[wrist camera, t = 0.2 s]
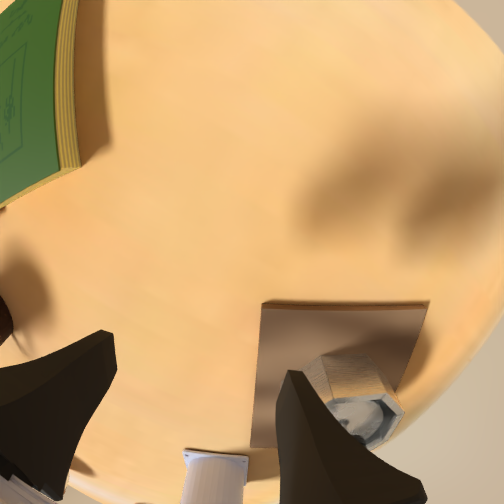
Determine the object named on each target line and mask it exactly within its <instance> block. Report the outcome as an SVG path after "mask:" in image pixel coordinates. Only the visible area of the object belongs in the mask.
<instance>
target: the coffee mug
mask: <svg viewBox="0 0 504 504" xmlns="http://www.w3.org/2000/svg"><path fill="white" fill-rule="evenodd" d="M12 332H13V322H12V318H11V315H10V312H9V310H8V308H7V306H6V304H5V302H4V301H3V299H2V298H1V296H0V346H1V345H2V344H3V342H4V341H5V340H6V339H7V338H8V337H9V336H10V335H11V333H12Z"/></svg>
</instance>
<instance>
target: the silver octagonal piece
mask: <svg viewBox="0 0 504 504" xmlns="http://www.w3.org/2000/svg"><path fill="white" fill-rule="evenodd" d="M298 371H303V373H304V374H305V376H306V377H307V379H308V380H309V382H310V383H311V385H312V386H313V388H314V389H315V391H316V392H317V394H318V395H319V397H320V398H321V400H322V401H323V402H324V404H325V405H326V406H327V408H329V407H331V406H332V405H334V404H340V403H351V402H361V401H369V400H376V401H377V402H378V403H379V405H380V407H381V409H382V411H383V420H382V423H381V425H380V426H379V428H378V429H377V430H376V431H375V432H374V433H373V434H372V435H371V436H370V437H369V438H367V439H366V440H365V443H366V446H367V449H368V450H369V451H371V450H373V449H374V448H376V447H378V446H380V445H381V444H383V443H385V442H386V441H388V439H389V438H390V436H391V435H392V433H393V431H394V430H395V428H396V427H397V425H398V423H399V422H400V420H401V418H402V417H403V415H404V413H405V412H404V410H403V408H402V406H401V404H400V402H399V400H398V398H397V396H396V395H395V393H394V391H393V389H392V387H391V385H390V383H389V382H388V380H387V378H386V376H385V375H384V373H383V372H382V371H381V370H380V369H379V368H378V366H377V365H376V364H375V363H374V362H373V361H372V359H371V358H370V357H369V356H368V355H367V354H366V353H364V354H344V355H321V356H319V357H317V358H316V359H314V360H313V361H311V362H310V363H308V364H307V365H305V366H304V367H302V368H301V369H299V370H298ZM283 382H284V380H282V381H281V385H280V390H281V387H282V384H283ZM279 393H280V391H279Z"/></svg>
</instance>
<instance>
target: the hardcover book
mask: <svg viewBox="0 0 504 504" xmlns="http://www.w3.org/2000/svg"><path fill="white" fill-rule="evenodd" d="M78 3H79V0H15V1H14V2H13V3H12V4H11V5H10V6H9V7H8V8H6V9H5V10H4V11H3V12H2V13H1V14H0V209H1V208H3V207H4V206H6V205H8V204H9V203H11V202H13V201H14V200H16V199H18V198H20V197H22V196H23V195H25V194H27V193H29V192H31V191H33V190H34V189H36V188H38V187H40V186H42V185H44V184H46V183H48V182H50V181H52V180H54V179H56V178H59V177H61V176H63V175H65V174H67V173H69V172H72V171H74V170H76V169H79V168H81V161H80V154H79V146H78V138H77V128H76V117H75V102H74V44H75V30H76V19H77V11H78Z"/></svg>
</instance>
